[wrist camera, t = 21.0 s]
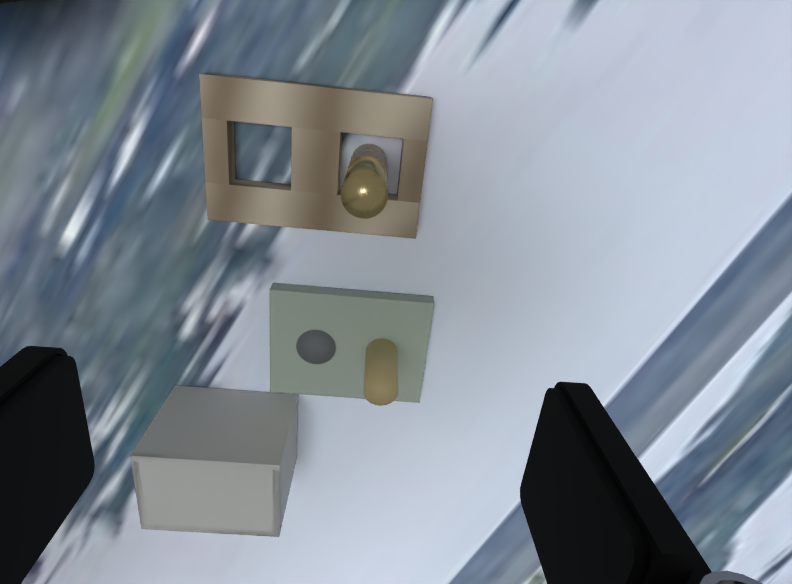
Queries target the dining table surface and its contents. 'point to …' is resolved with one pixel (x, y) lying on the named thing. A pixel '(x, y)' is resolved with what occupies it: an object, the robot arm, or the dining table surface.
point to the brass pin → (365, 182)
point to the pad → (348, 342)
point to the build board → (310, 152)
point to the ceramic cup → (2, 0)
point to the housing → (217, 462)
